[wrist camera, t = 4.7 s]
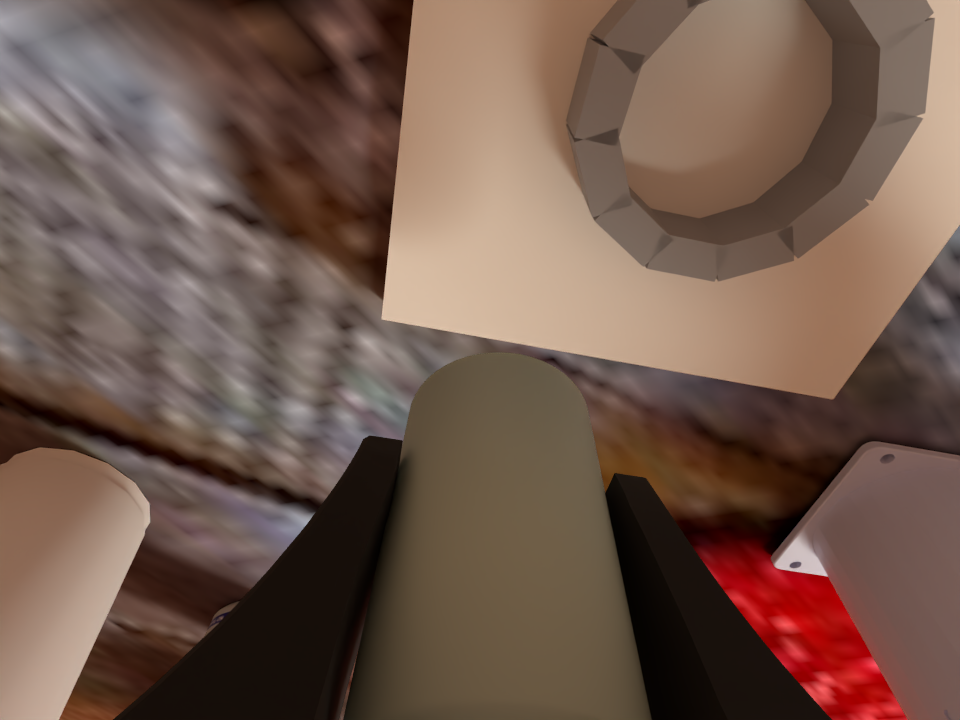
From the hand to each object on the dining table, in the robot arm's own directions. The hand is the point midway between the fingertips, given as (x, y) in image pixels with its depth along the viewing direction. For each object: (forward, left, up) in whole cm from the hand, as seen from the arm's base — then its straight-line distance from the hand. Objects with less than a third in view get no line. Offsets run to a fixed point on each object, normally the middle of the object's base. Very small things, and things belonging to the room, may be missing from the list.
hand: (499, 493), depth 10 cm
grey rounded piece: (0, 0, -2) cm, 2 cm away
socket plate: (-4, -6, -9) cm, 12 cm away
